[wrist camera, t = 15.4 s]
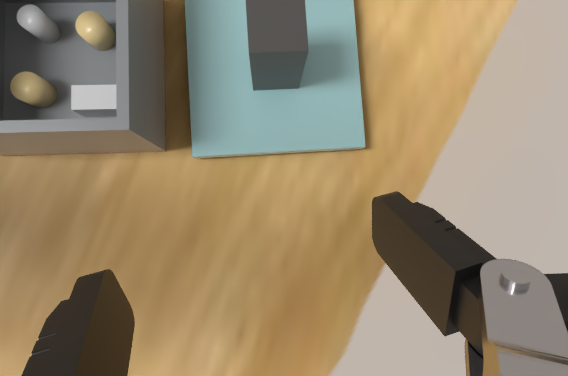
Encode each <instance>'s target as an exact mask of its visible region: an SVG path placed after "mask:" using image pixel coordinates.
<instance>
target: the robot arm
mask: <svg viewBox="0 0 568 376" xmlns="http://www.w3.org/2000/svg"><path fill="white" fill-rule="evenodd" d="M372 238H373V243H374V246H375V248H376V250H377V252H378V254H379V255H380V256H381V258H382V259H383V260H384V261H385V263H386V264H387V265H388V266H389V267H390V269H391V270H392V271H393V273H394V274H395V275H396V276H397V277H398V279H399V280H400V281H401V283H402V284H403V285H404V286H405V287H406V289H407V290H408V291H409V292H410V294H411V295H412V296H413V297H414V299H415V300H416V301H417V302H418V304H419V305H420V306H421V307H422V309H423V310H424V311H425V312H426V313H427V315H428V316H429V317H430V319H431V320H432V321H433V322H434V324H435V325H436V326H437V327H438V329H440V331H441V332H442V334H443V335H444V336H447V335H450V334H453V333H456V332H459V331H460V332H461V333H462V334H463V336H464V337H465V338H466V340H465V360H466V376H568V273H566V274H565V273H564V274H543V273H541V272H540V271H539V270H537V269H536V268H534V267H532V266H530V265H528V264H525V263H523V262H519V261H516V260H510V259H496V258H495V257H493V256H492V255H491V254H490V253H488V252H487V251H486V250H485V249H483V248H482V247H480V246H479V245H478V244H477V243H476V242H475V241H473V240H472V239H471V238H469V237H468V236H467V235H466V234H464V233H463V232H462V231H461V230H459V229H456V227H455V226H454V225H453V224H452V223H451V222H449V221H448V220H447V221H446V219H445V218H444V217H443V216H442V215H440V214H439V213H438V212H437V211H436V210H434V209H433V208H430V207H428V206H425V205H423V204H420V203H418V202H415V203H412V202H410V201H409V200H408V199H407V198H406V197H405V196H403V195H402V194H401V193H400V192H392V193H389V194H385V195H381V196H378V197H375V198H374V199H373V201H372ZM133 333H134V315H133V311H132V308H131V305H130V303H129V302H128V300H127V298H126V296H125V294H124V292H123V290H122V288H121V287H120V285H119V283H118V281H117V279H116V277H115V275H114V274H113V272H112V271H111V270H109V269H107V270H104V271H100V272H96V273H93V274H89V275H85V276H82V277H79V278H78V279H77V281H76V283H75V286H74V288H73V291H72V293H71V296H70V299H68V300H64V301H61V302H60V303H59V305H58V306H57V307H56V308H55V309H54V311H53V312H52V313H51V314H50V315H49V316H48V318H47V319H46V321H45V323H44V325H43V328H42V330H41V332H40V335H39V337H38V338H39V341H36V344H35V346H34V348H33V351H32V356H31V357H29V360H28V362H27V364H26V367H25V369H24V371H23V374H22V376H127V374H128V367H129V360H130V354H131V347H132V340H133Z"/></svg>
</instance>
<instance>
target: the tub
mask: <svg viewBox="0 0 568 376" xmlns="http://www.w3.org/2000/svg"><path fill="white" fill-rule="evenodd" d="M159 151H166V130H165V64H164V0H0V156H17V155H52V154H88V153H123V152H159Z"/></svg>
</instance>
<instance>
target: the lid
mask: <svg viewBox="0 0 568 376" xmlns="http://www.w3.org/2000/svg"><path fill="white" fill-rule="evenodd" d="M185 18H186V38H187V58H188V79H189V99H190V119H191V139H192V157H193V158H195V159H197V158H214V157H231V156H249V155H266V154H284V153H301V152H318V151H336V150H353V149H363V148H365V134H364V122H363V110H362V98H361V86H360V74H359V62H358V50H357V37H356V25H355V13H354V1H353V0H185Z"/></svg>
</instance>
